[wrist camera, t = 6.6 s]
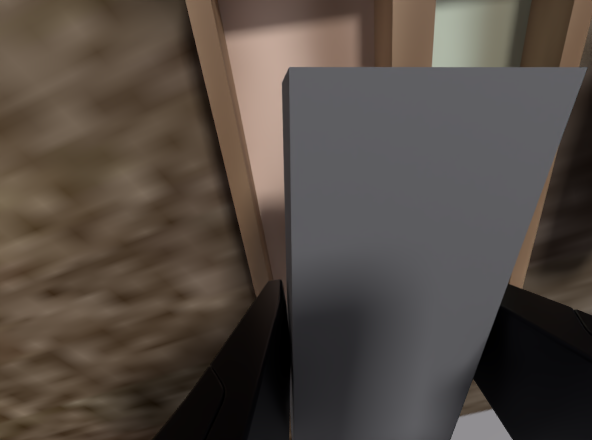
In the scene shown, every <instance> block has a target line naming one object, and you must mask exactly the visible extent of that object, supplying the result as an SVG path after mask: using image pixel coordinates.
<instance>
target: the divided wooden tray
mask: <svg viewBox="0 0 592 440" xmlns="http://www.w3.org/2000/svg"><path fill="white" fill-rule="evenodd" d="M185 1H186V5H187V9H188V14H189V18H190V22H191V26H192V30H193V35H194V39H195V43H196V47H197V51H198V55H199V60H200V64H201V68H202V72H203V76H204V81H205V85H206V89H207V93H208V97H209V102H210V106H211V110H212V114H213V118H214V123H215V127H216V131H217V135H218V139H219V144H220V148H221V152H222V156H223V160H224V165H225V169H226V173H227V177H228V181H229V185H230V190H231V194H232V198H233V202H234V206H235V211H236V215H237V219H238V223H239V227H240V232H241V236H242V240H243V244H244V248H245V253H246V257H247V261H248V265H249V269H250V274H251V278H252V282H253V286H254V290H255V294H256V298H257V296H258V295H259V294H260V292H261V291H262V289H263V288H264V286H265V285H266V283H267V282H268V281H270V280H277V279H281V280H282V283H283V288H284V293H285V299H286V305H287V286H286V244H285V201H284V159H283V117H282V81H283V79H284V77H285V75H286V73H287V70H288V68H289V67H579V65H580V61H581V57H582V53H583V49H584V45H585V42H586V38H587V34H588V30H589V26H590V22H591V18H592V0H185ZM558 147H559V146H558ZM557 151H558V149H557ZM556 155H557V152H556V154H555V157H554V160H553V163H552V165H551V168H550V171H549V173H548V176H547V179H546V182H545V184H544V187H543V190H542V192H541V195H540V198H539V201H538V203H537V206H536V209H535V211H534V214H533V217H532V220H531V222H530V225H529V228H528V230H527V233H526V236H525V239H524V241H523V244H522V247H521V249H520V252H519V255H518V258H517V260H516V263H515V266H514V268H513V271H512V274H511V277H510V279H509V282H508V284H511V285H513V286H516V287H519V288H521V289H522V287H523V284H524V280H525V276H526V272H527V268H528V264H529V260H530V256H531V252H532V248H533V245H534V241H535V237H536V233H537V229H538V225H539V221H540V217H541V213H542V209H543V205H544V202H545V198H546V194H547V190H548V186H549V182H550V178H551V174H552V170H553V166H554V163H555V159H556Z"/></svg>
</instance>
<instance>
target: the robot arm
mask: <svg viewBox="0 0 592 440" xmlns="http://www.w3.org/2000/svg"><path fill="white" fill-rule="evenodd" d="M473 379H474V381H475V382H476V384H477V385H478V387H479V388H480V390H481V391H482V393H483V394H484V396H485V398H486V399H487V401H488V402H489V404H490V405H491V407H492V408H493V410H494V411H495V413H496V415H497V416H498V418H499V419H500V421H501V422H502V424H503V425H504V427H505V429H506V430H507V432H508V433H509V435H510V436H511V438H512V439H513V440H592V315H590V314H587V313H584V312H582V311H579V310H573V309H572V308H571V307H569V306H566V305H563V304H561V303H558V302H555V301H553V300H550V299H547V298H545V297H542V296H540V295H537V294H534V293H532V292H529V291H526V290H524V289H521V288H519V287H516V286H513V285H511V284H508V285H507V287H506V290H505V293H504V296H503V298H502V301H501V304H500V306H499V309H498V312H497V315H496V317H495V320H494V323H493V325H492V328H491V331H490V334H489V336H488V339H487V342H486V344H485V347H484V350H483V353H482V355H481V358H480V361H479V363H478V366H477V369H476V372H475V374H474V377H473ZM290 380H291V356H290V337H289V325H288V315H287V305H286V299H285V293H284V288H283V283H282V280H281V279H277V280H270V281H268V282H267V283H266V285H265V286H264V288H263V289H262V291H261V292H260V294H259V295H258V296H257V298H256V299H255V301H254V302H253V304H252V305H251V306H250V308H249V309H248V311H247V312H246V314H245V315H244V317H243V318H242V319H241V321H240V322H239V324H238V325H237V327H236V328H235V329H234V331H233V332H232V334H231V335H230V337H229V338H228V340H227V341H226V342H225V344H224V345H223V347H222V348H221V350H220V351H219V352H218V354H217V355H216V357H215V358H214V360H213V361H212V363H211V364H210V366H209V367H208V368H207V369H206V371H205V372H204V374H203V375H202V377H201V378H200V380H199V381H198V382H197V384H196V385H195V386H194V388H193V389H192V390H191V392H190V393H189V395H188V396H187V397H186V399H185V400H184V401H183V402H182V404H181V405H180V406H179V407H178V409H177V410H176V411H175V412H174V414H173V415H172V416H171V417H170V419H169V420H168V421H167V422H166V423H165V425H164V426H163V427H162V428H161V429H160V431H159V432H158V433H157V434H156V435H155V437H154V438H153V439H152V440H289V417H290Z"/></svg>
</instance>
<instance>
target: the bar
mask: <svg viewBox="0 0 592 440" xmlns="http://www.w3.org/2000/svg"><path fill="white" fill-rule="evenodd" d="M587 68H588V67H289V68H288V70H287V73H286V75H285V77H284V79H283V81H282V117H283V159H284V201H285V244H286V286H287V315H288V325H289V337H290V356H291V380H290V414H291V434H292V440H450V439H451V437H452V434H453V431H454V429H455V426H456V423H457V420H458V418H459V415H460V412H461V410H462V407H463V404H464V401H465V399H466V396H467V393H468V391H469V388H470V385H471V382H472V380H473V377H474V374H475V372H476V369H477V366H478V363H479V361H480V358H481V355H482V353H483V350H484V347H485V344H486V342H487V339H488V336H489V334H490V331H491V328H492V325H493V323H494V320H495V317H496V315H497V312H498V309H499V306H500V304H501V301H502V298H503V296H504V293H505V290H506V287H507V285H508V282H509V279H510V277H511V274H512V271H513V268H514V266H515V263H516V260H517V258H518V255H519V252H520V249H521V247H522V244H523V241H524V239H525V236H526V233H527V230H528V228H529V225H530V222H531V220H532V217H533V214H534V211H535V209H536V206H537V203H538V201H539V198H540V195H541V192H542V190H543V187H544V184H545V182H546V179H547V176H548V173H549V171H550V168H551V165H552V163H553V160H554V157H555V154H556V152H557V149H558V146H559V144H560V141H561V138H562V135H563V133H564V130H565V127H566V125H567V122H568V119H569V116H570V114H571V111H572V108H573V106H574V103H575V100H576V97H577V95H578V92H579V89H580V87H581V84H582V81H583V78H584V76H585V73H586V70H587Z"/></svg>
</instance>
